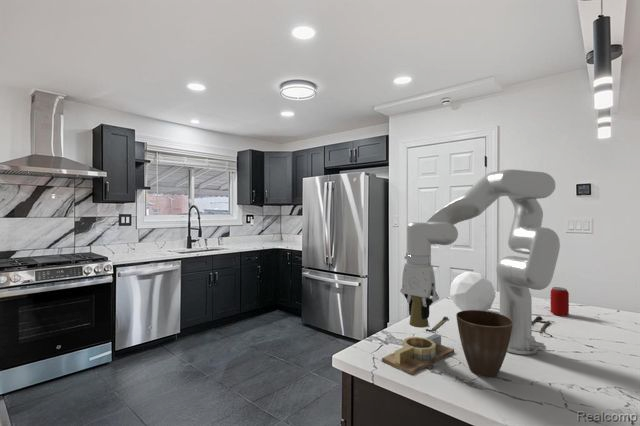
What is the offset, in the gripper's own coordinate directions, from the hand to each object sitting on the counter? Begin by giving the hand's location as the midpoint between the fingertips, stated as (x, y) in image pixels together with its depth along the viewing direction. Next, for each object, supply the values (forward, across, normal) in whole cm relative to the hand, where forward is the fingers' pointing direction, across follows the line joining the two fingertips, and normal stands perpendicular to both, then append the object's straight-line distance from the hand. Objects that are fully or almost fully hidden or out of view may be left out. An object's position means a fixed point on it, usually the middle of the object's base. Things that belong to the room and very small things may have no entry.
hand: (418, 315), depth 107 cm
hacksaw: (+14, +16, +63) cm, 67 cm away
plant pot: (+13, +18, +6) cm, 23 cm away
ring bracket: (+13, 0, 0) cm, 13 cm away
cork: (+3, 0, 0) cm, 3 cm away
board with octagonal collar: (+13, 0, 0) cm, 13 cm away
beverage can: (+13, +15, +88) cm, 90 cm away
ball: (+13, -12, +60) cm, 63 cm away
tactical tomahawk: (+14, -11, +33) cm, 37 cm away
